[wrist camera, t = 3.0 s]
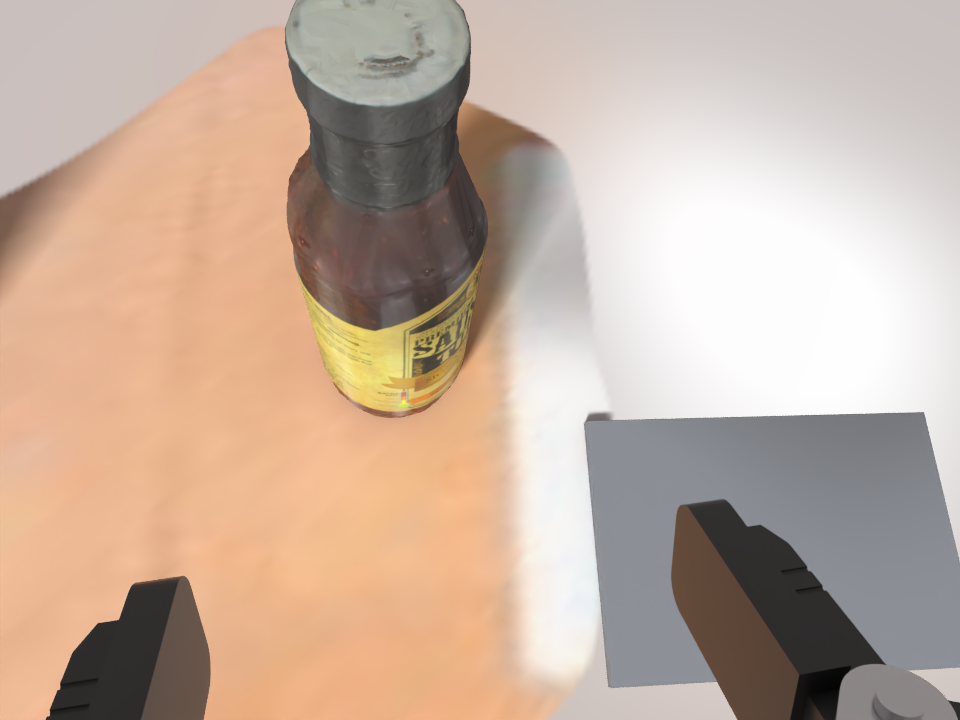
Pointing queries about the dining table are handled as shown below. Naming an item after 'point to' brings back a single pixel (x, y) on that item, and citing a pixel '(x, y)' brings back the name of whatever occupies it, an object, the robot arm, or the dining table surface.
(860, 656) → the robot arm
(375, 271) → the sauce bottle
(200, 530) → the dining table surface
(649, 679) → the gray mat
